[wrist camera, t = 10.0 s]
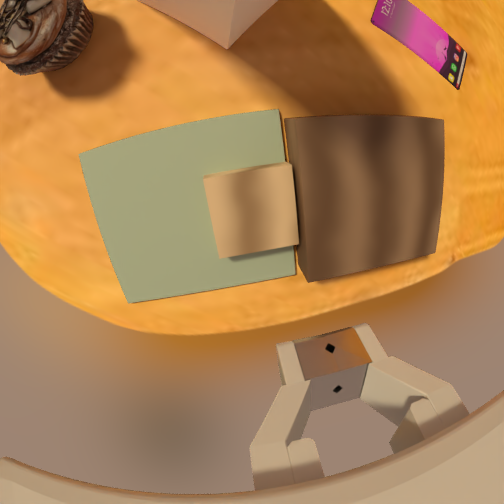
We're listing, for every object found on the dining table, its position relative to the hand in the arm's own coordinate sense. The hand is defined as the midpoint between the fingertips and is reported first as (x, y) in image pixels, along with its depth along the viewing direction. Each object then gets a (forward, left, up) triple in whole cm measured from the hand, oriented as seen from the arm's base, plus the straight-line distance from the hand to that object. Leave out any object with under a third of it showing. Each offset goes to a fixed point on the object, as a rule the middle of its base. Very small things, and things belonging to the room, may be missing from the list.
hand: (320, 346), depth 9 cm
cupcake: (+17, -21, -22) cm, 35 cm away
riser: (-13, +2, -21) cm, 25 cm away
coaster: (0, +2, -21) cm, 21 cm away
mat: (+6, +2, -21) cm, 22 cm away
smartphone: (-24, -17, -22) cm, 37 cm away
